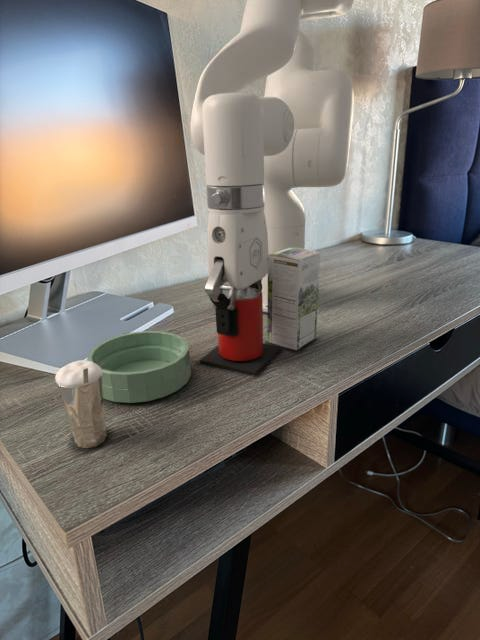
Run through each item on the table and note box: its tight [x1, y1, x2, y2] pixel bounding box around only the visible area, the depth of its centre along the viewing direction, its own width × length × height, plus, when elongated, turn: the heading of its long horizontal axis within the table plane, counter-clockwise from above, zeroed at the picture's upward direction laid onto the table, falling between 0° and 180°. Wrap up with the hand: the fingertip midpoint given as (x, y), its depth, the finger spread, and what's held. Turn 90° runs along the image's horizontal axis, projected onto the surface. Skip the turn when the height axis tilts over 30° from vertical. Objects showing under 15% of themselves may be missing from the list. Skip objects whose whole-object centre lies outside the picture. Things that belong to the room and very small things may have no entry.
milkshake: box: [54, 359, 108, 449], centre depth 47 cm, size 5×5×10 cm
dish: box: [86, 330, 192, 404], centre depth 60 cm, size 13×13×4 cm
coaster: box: [199, 342, 282, 376], centre depth 67 cm, size 9×9×1 cm
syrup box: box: [266, 248, 321, 351], centre depth 68 cm, size 6×6×14 cm
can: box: [217, 287, 264, 361], centre depth 65 cm, size 7×7×9 cm
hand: (240, 324), depth 65 cm, fingers closed on can, 6 cm apart
